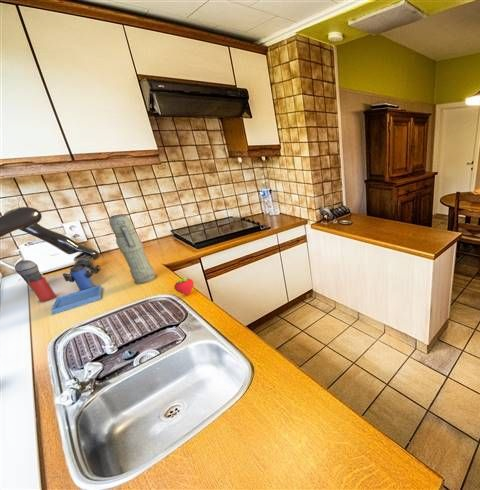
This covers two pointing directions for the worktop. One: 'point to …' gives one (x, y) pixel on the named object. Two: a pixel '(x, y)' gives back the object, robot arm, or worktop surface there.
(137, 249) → the stone statue
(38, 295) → the red bottle
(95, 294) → the blue tray
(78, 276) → the blue bottle
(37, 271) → the beverage cup
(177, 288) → the strawberry
